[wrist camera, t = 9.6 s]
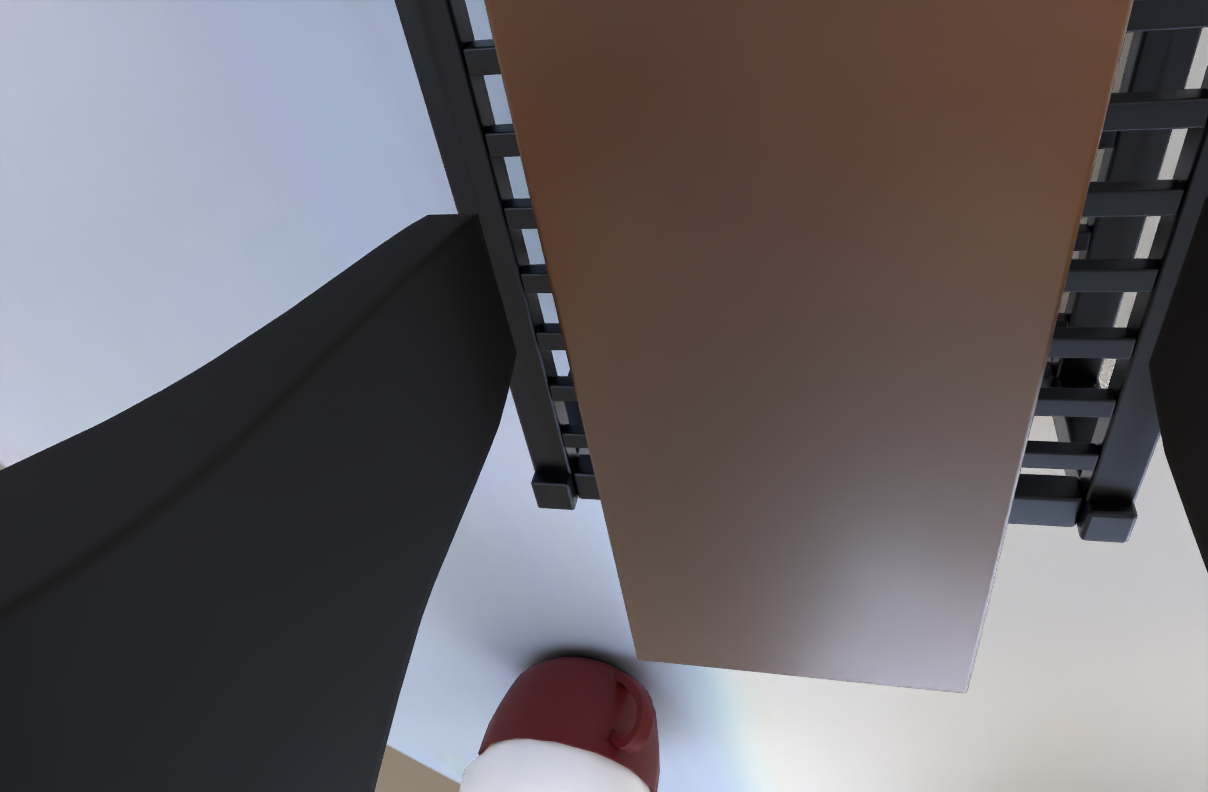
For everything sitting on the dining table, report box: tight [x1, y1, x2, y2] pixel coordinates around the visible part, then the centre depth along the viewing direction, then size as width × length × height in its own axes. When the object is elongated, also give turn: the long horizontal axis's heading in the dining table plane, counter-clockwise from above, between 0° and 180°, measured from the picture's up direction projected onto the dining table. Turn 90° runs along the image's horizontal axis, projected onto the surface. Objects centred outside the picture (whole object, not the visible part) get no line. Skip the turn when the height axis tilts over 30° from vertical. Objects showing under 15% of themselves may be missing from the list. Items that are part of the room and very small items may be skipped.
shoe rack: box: [395, 0, 1208, 543], centre depth 13 cm, size 11×16×5 cm
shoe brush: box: [484, 0, 1134, 693], centre depth 10 cm, size 4×11×5 cm, turn 9°
